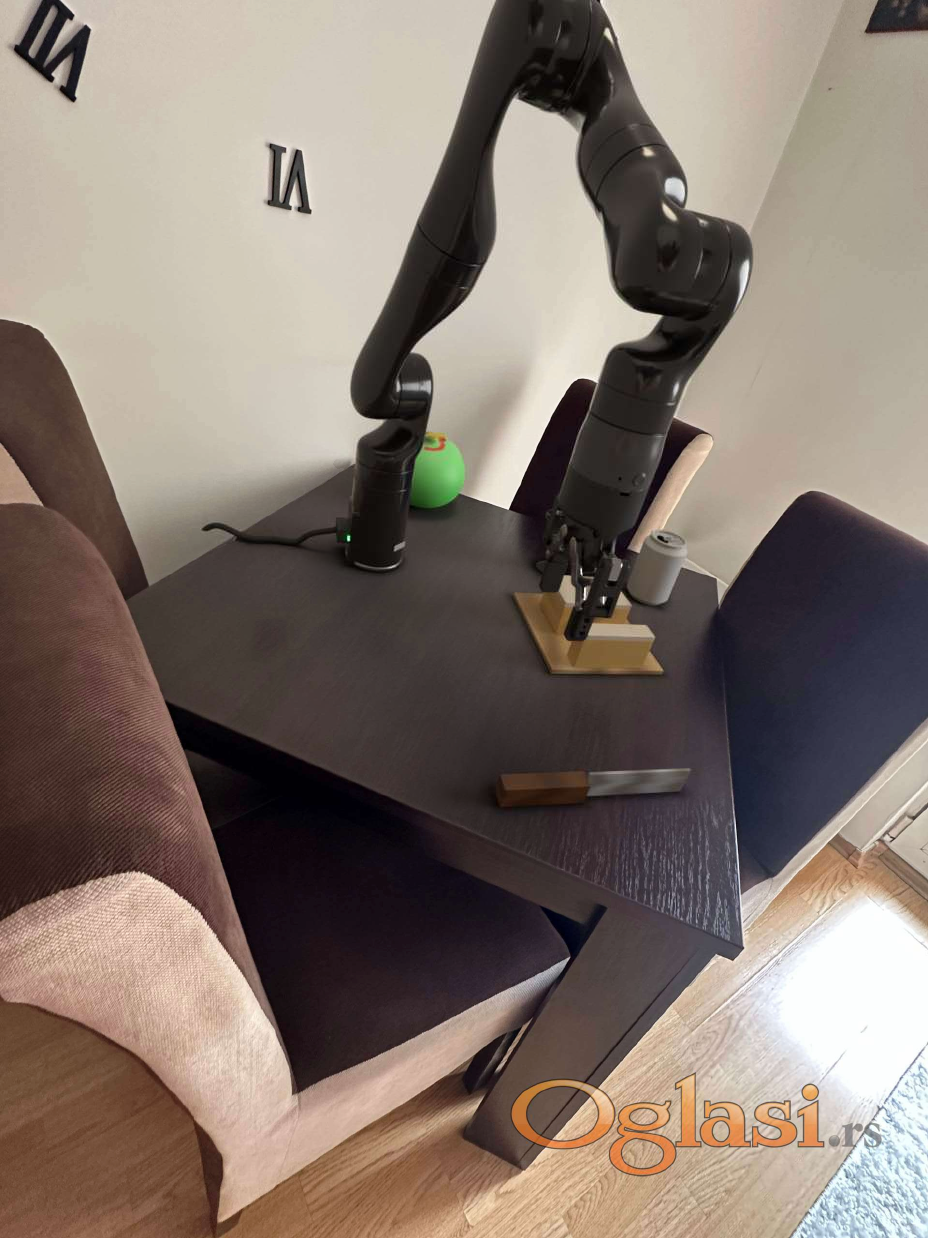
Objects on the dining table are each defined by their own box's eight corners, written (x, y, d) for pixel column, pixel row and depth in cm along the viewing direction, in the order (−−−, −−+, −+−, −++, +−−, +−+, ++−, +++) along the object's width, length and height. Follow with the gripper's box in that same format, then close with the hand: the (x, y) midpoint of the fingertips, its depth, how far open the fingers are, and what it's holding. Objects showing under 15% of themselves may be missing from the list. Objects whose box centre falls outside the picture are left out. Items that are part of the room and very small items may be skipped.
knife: (499, 807, 70) (506, 785, 68) (494, 791, 72) (501, 769, 70) (683, 797, 77) (695, 776, 75) (674, 783, 78) (686, 762, 76)
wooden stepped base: (550, 674, 92) (563, 636, 88) (512, 596, 108) (521, 561, 104) (662, 674, 97) (678, 639, 93) (609, 600, 113) (621, 567, 109)
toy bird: (465, 525, 127) (480, 453, 119) (378, 517, 122) (388, 442, 114) (450, 487, 141) (462, 420, 133) (372, 479, 137) (380, 409, 129)
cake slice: (573, 667, 93) (585, 635, 90) (566, 654, 95) (577, 622, 92) (641, 668, 96) (655, 637, 93) (633, 656, 98) (646, 624, 95)
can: (620, 582, 119) (642, 523, 112) (658, 587, 120) (681, 529, 114) (632, 605, 113) (656, 544, 106) (672, 609, 114) (698, 550, 107)
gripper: (549, 433, 63) (509, 574, 72) (602, 500, 52) (547, 656, 61) (618, 443, 65) (570, 578, 74) (683, 508, 54) (618, 658, 63)
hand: (560, 613), depth 68 cm, fingers open, 8 cm apart
